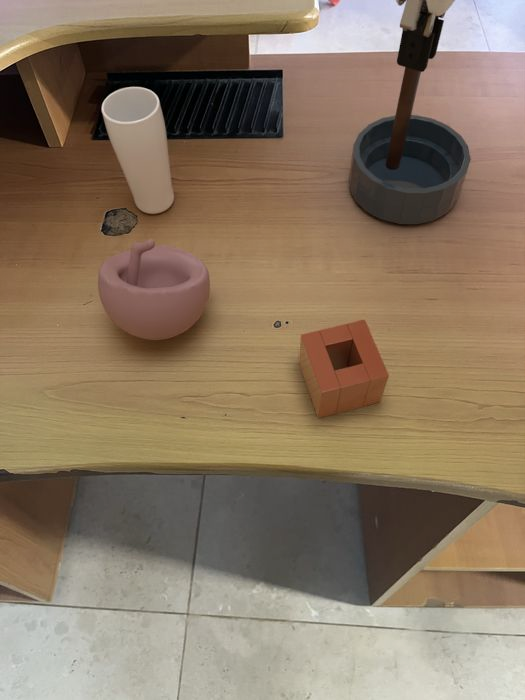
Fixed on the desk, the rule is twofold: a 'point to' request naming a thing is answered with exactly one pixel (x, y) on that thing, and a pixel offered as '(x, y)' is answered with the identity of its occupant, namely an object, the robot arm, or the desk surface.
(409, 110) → the stirring stick
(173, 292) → the mortar and pestle
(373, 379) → the holder
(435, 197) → the bowl
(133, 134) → the drinking glass
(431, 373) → the desk surface
